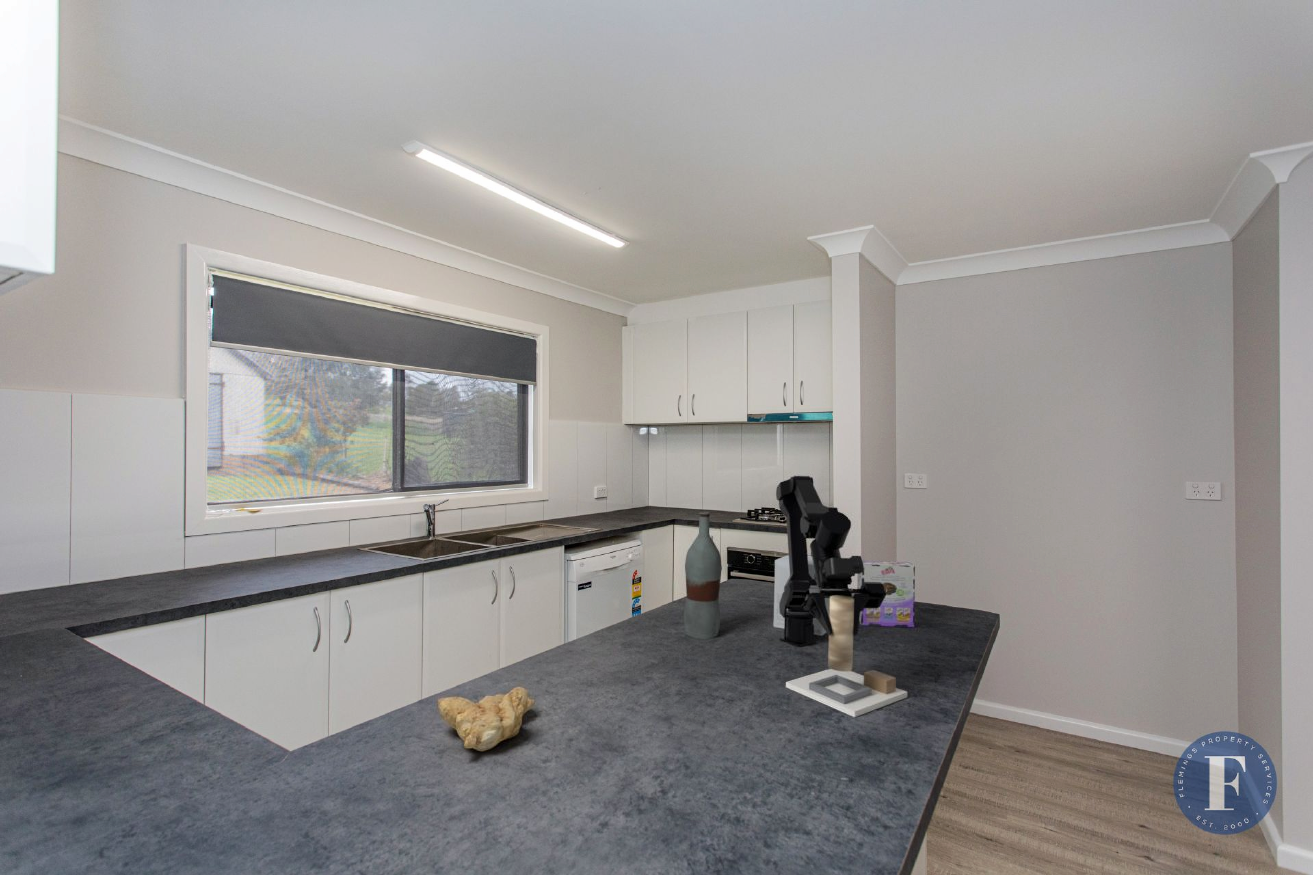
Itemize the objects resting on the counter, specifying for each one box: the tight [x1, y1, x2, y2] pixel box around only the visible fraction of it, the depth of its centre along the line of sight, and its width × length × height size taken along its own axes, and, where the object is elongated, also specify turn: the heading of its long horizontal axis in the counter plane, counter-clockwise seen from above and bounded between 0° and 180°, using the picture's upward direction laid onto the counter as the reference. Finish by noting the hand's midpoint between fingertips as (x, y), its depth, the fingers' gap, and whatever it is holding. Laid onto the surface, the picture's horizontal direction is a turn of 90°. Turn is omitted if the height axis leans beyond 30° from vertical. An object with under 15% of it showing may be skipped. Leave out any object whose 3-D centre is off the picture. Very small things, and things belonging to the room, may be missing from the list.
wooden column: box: [827, 595, 854, 671], centre depth 120 cm, size 4×4×13 cm
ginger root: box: [437, 686, 535, 752], centre depth 101 cm, size 16×16×8 cm
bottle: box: [683, 511, 723, 640], centre depth 157 cm, size 9×9×30 cm
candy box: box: [856, 560, 916, 628], centre depth 170 cm, size 14×6×16 cm, turn 84°
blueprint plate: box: [785, 668, 908, 718], centre depth 122 cm, size 16×16×4 cm
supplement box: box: [772, 554, 830, 636], centre depth 166 cm, size 13×13×18 cm
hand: (843, 634), depth 118 cm, fingers closed on wooden column, 4 cm apart
